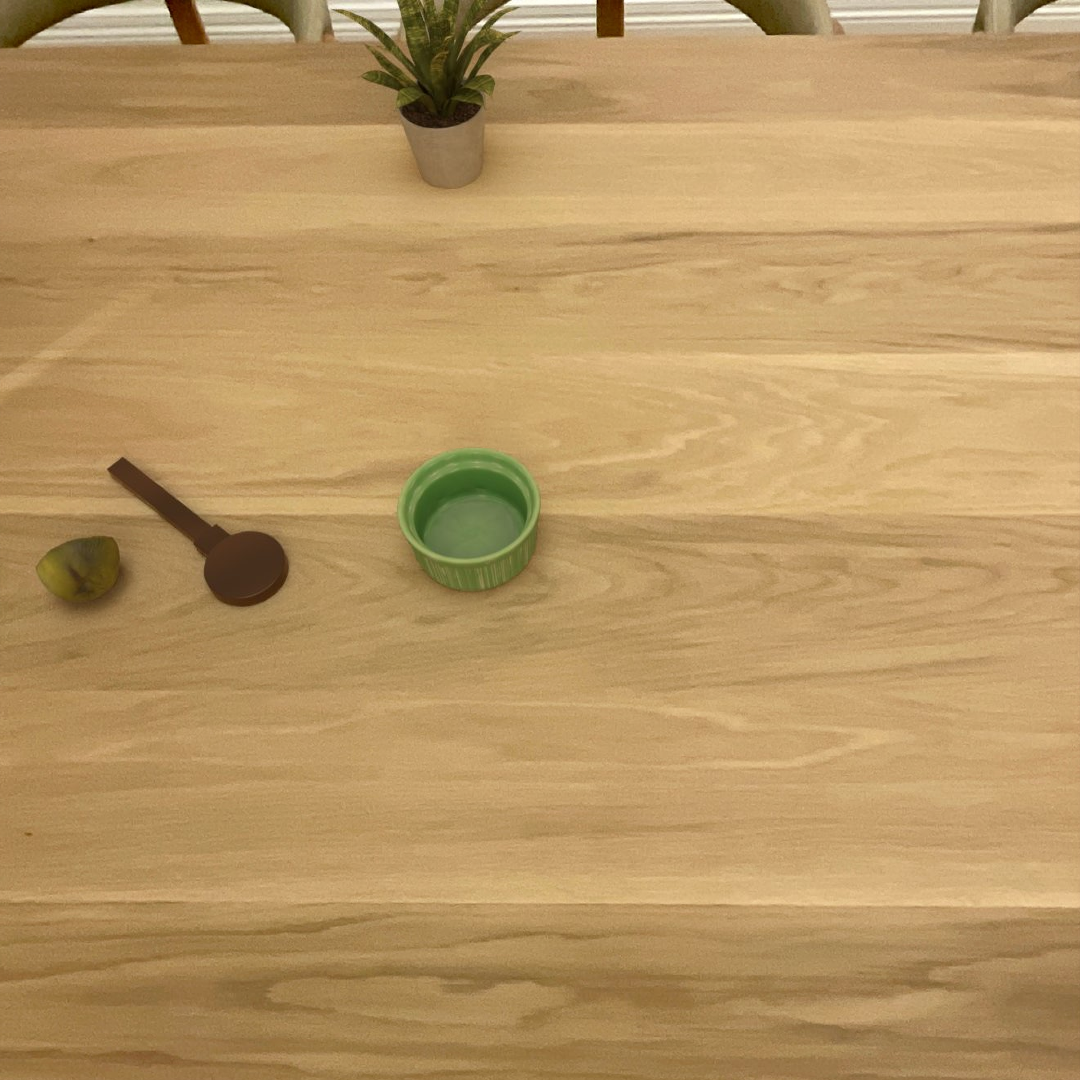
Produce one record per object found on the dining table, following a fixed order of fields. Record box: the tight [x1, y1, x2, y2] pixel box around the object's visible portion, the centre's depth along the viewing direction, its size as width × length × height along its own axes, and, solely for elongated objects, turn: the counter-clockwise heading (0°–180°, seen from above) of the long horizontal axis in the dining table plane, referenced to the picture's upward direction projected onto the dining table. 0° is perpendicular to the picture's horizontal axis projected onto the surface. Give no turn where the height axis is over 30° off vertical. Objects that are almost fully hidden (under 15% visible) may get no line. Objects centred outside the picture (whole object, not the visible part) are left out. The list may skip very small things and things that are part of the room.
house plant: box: [331, 0, 522, 189], centre depth 89 cm, size 14×14×16 cm
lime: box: [35, 535, 121, 603], centre depth 73 cm, size 4×5×5 cm
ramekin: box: [396, 446, 542, 592], centre depth 74 cm, size 9×9×4 cm
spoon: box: [106, 456, 289, 607], centre depth 77 cm, size 16×5×1 cm, turn 50°
